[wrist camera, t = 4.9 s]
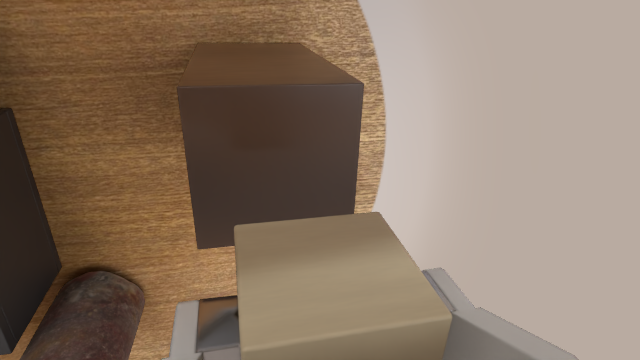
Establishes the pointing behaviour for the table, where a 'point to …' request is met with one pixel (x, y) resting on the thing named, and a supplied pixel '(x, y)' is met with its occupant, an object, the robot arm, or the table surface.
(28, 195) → the dark box sleeve
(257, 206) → the stand
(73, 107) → the table surface
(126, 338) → the brown cylinder
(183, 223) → the table surface
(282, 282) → the cube
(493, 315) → the robot arm
